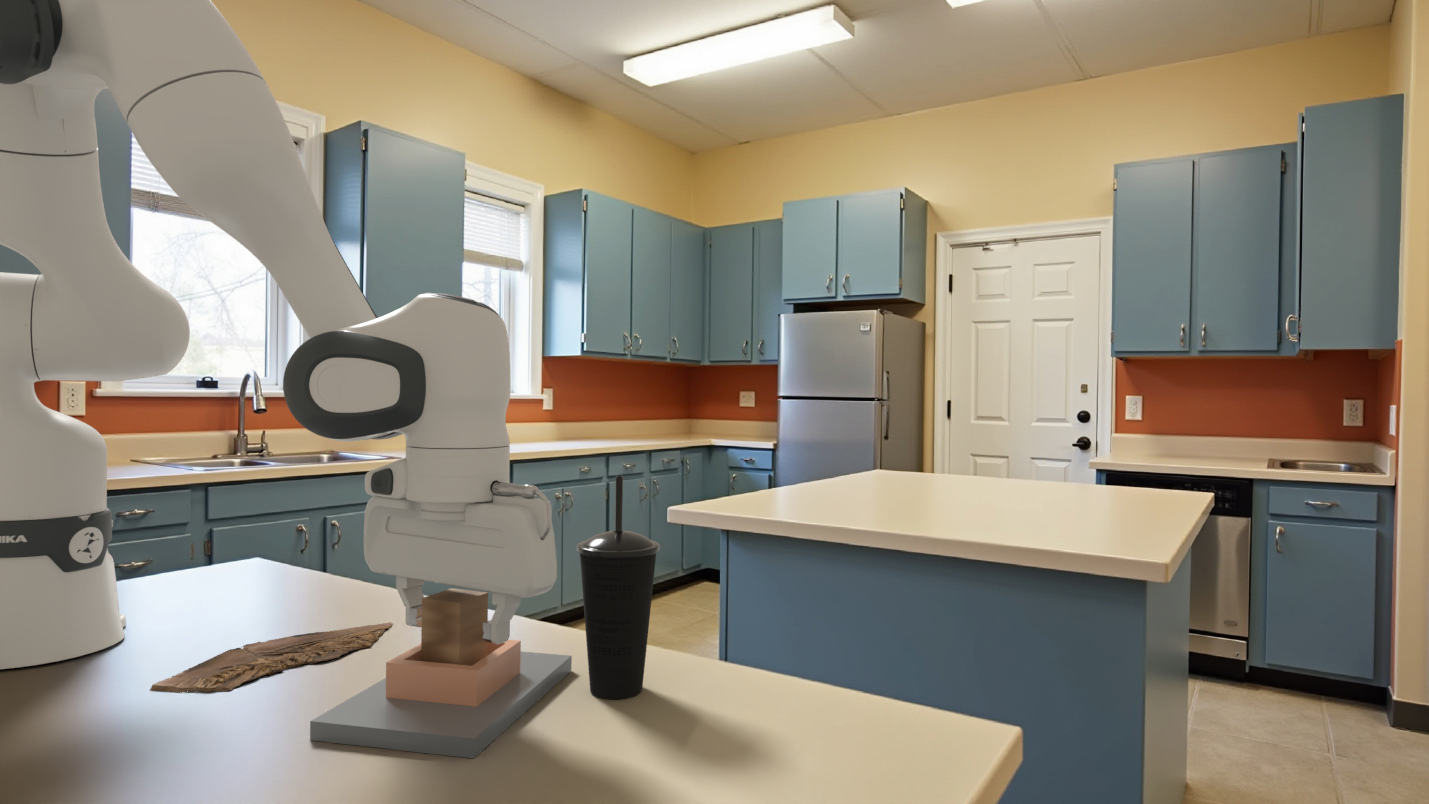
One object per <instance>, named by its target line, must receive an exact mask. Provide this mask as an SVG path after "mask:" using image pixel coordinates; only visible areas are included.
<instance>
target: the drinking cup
mask: <svg viewBox="0 0 1429 804" xmlns="http://www.w3.org/2000/svg"><path fill="white" fill-rule="evenodd" d="M623 495H624V476H623V475H615V500H614V501H615V502H614V503H615V504H614V505H615V507H614V508H615V509H614V512H615V514H614V530H609V531H604V532H600V533H598V534H597V533H596V534H595V535H593V536H591V537H589V538H587V539H586V540H582V541H580V542H579V543H577V545H576V551H577V553H579V558H580V559H579V561H580V571H581V585H582V597H583V598H582V599H583V612H584V624H585V625H584V627H585V636H586V637H585V639H586V653H587V663H588V664H587V665H588V679H589V680H588V681H589V691H590V693H591V695H592V696H594V697H596V698H599V699H604V700H625V699H630V698H633V697H637V695H640V694H641V693H642V691H643V685H644V674H645V665H646V657H647V655H646V654H647V647H648V646H647V645H648V635H649V626H650V616H651V607H652V600H653V599H652V598H653V587H654V578H655V569H656V559H657V553H658V552H659V551H660V548H661V546H660V543H659V542H657V541H655V540H652V539H650V538H648V537H647V536H645V535H643V534H641V533H638V532H634V531H629V530H623V514H624V513H623V508H624V507H623V505H624V504H623V503H624V501H623V499H624V498H623V497H624V496H623Z"/></svg>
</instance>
